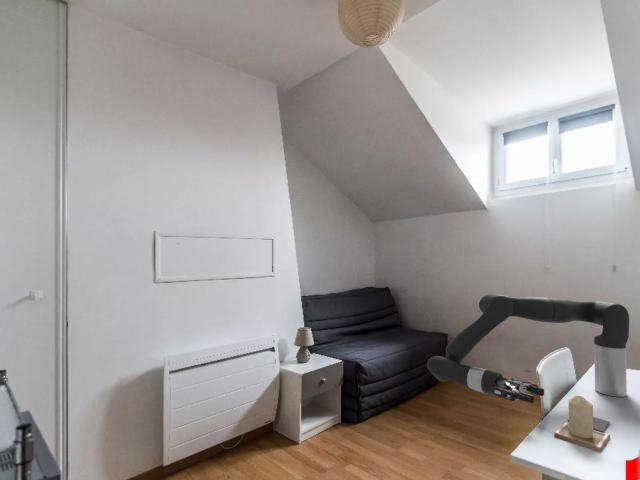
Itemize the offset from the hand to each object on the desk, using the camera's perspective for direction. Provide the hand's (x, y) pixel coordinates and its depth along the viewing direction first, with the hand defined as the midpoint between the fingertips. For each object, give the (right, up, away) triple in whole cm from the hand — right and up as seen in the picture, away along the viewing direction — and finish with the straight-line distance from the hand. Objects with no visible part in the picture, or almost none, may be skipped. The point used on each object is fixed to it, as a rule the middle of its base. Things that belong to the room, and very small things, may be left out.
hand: (539, 396), depth 108 cm
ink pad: (+15, -8, 0) cm, 17 cm away
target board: (+7, -8, -8) cm, 13 cm away
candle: (+7, -7, -8) cm, 13 cm away
